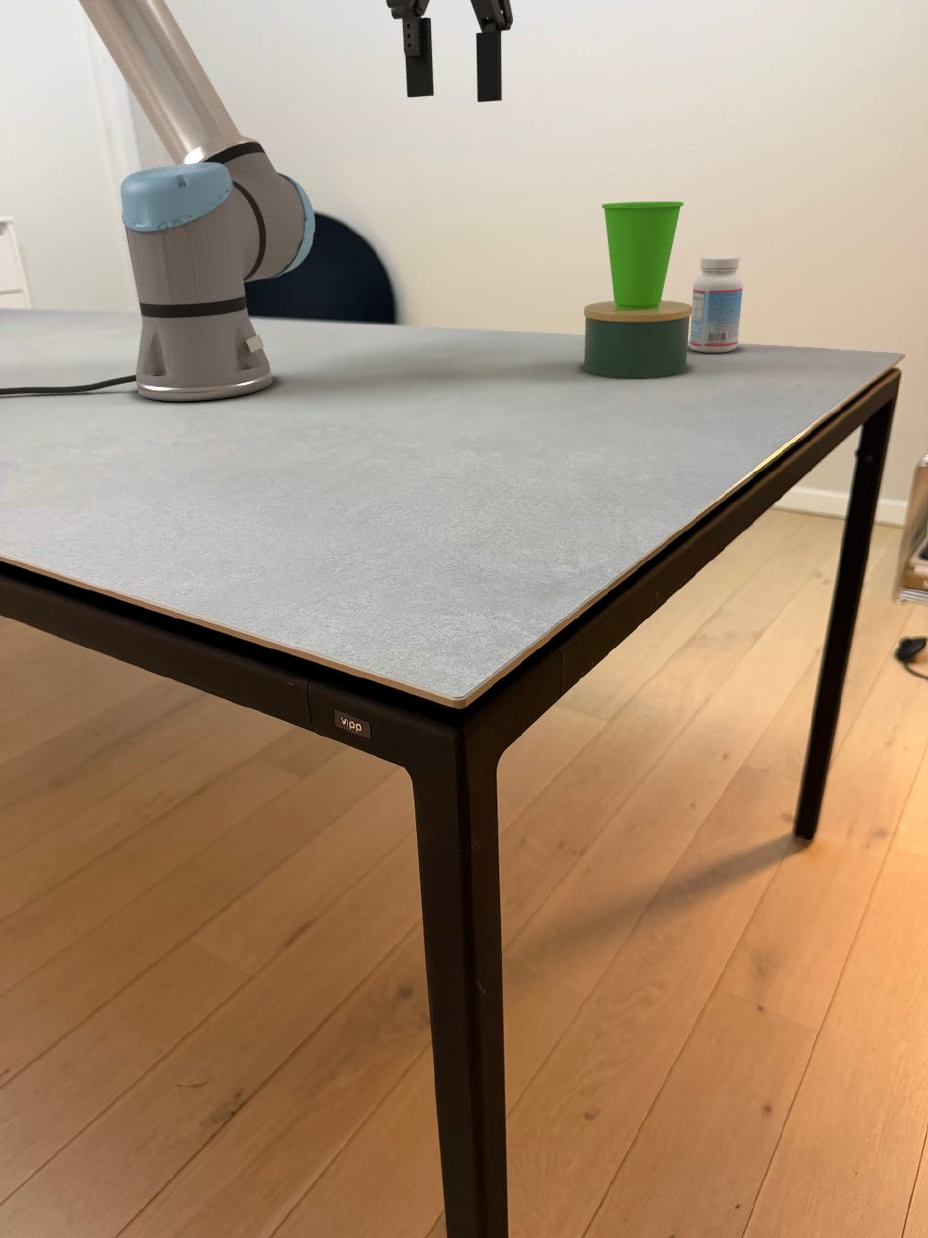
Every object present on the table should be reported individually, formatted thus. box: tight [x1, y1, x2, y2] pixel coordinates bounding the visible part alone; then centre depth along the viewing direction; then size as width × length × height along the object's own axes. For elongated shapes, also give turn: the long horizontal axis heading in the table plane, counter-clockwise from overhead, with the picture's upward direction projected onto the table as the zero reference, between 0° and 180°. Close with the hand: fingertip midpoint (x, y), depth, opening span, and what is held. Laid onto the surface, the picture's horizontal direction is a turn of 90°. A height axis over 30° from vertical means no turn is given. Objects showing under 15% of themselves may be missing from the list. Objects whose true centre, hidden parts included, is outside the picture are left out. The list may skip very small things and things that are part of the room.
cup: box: [601, 201, 685, 310], centre depth 105 cm, size 9×9×11 cm
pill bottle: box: [689, 254, 744, 354], centre depth 117 cm, size 6×6×11 cm
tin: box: [583, 299, 692, 379], centre depth 109 cm, size 12×12×7 cm
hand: (456, 99), depth 97 cm, fingers open, 13 cm apart
